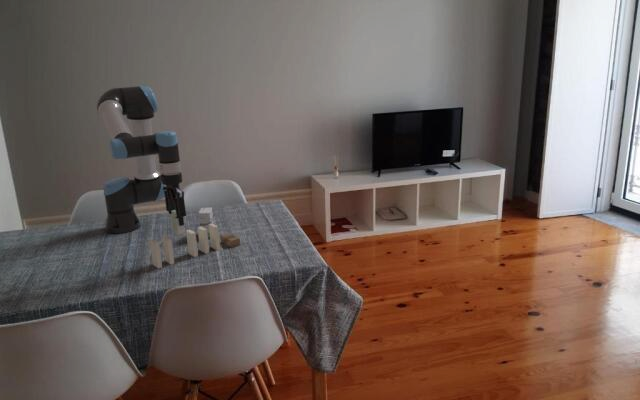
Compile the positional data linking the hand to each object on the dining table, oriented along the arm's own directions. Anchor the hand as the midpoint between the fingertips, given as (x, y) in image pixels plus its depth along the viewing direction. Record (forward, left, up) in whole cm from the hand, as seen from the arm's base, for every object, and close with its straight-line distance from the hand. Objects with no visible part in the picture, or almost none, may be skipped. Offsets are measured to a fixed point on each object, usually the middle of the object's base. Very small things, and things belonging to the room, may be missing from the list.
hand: (178, 231), depth 195 cm
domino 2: (0, -5, -12) cm, 13 cm away
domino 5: (0, +10, -12) cm, 15 cm away
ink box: (-16, +20, -12) cm, 28 cm away
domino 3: (0, 0, -2) cm, 2 cm away
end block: (0, +22, -12) cm, 25 cm away
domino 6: (0, +15, -12) cm, 19 cm away
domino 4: (0, +5, -12) cm, 13 cm away
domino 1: (0, -10, -12) cm, 15 cm away
